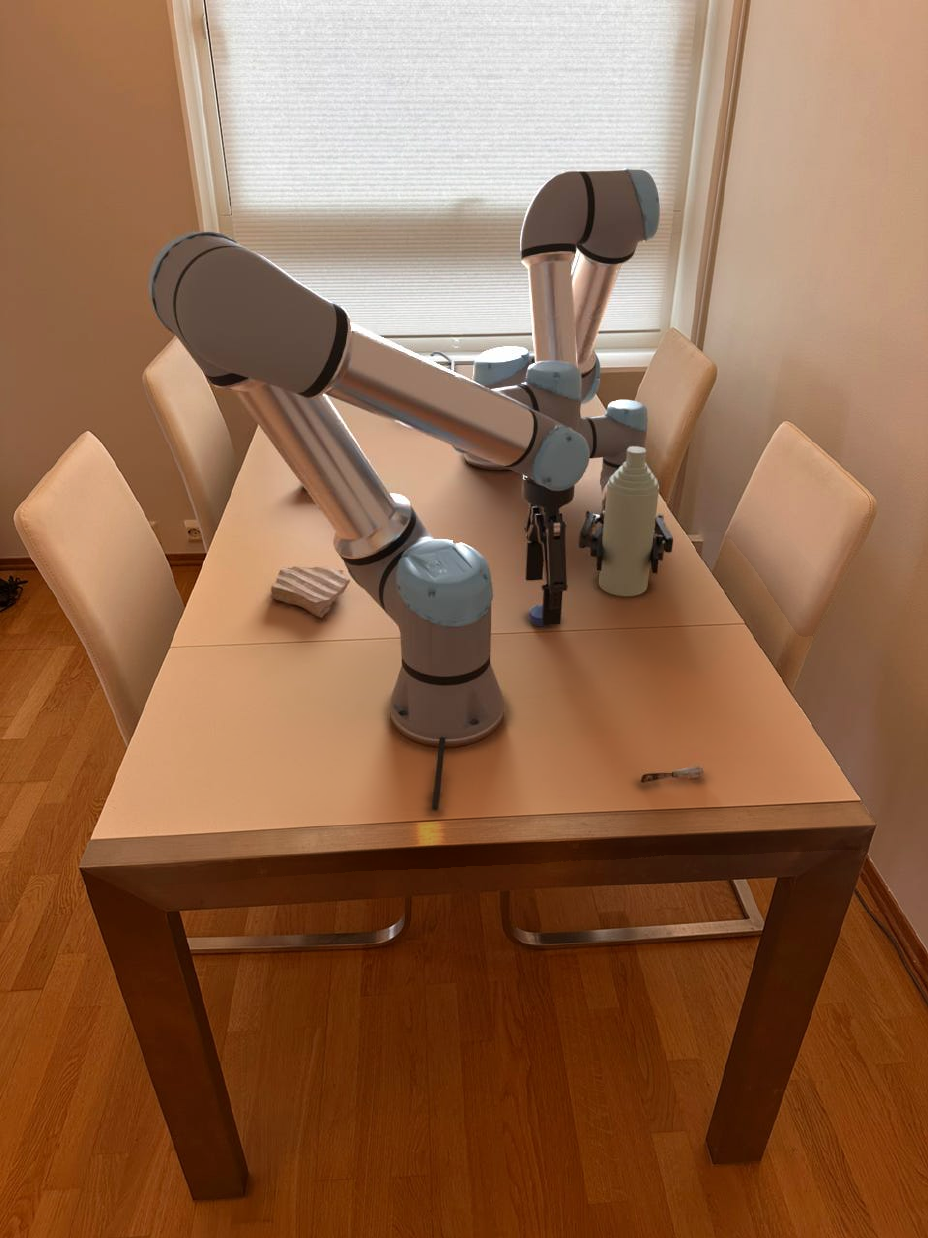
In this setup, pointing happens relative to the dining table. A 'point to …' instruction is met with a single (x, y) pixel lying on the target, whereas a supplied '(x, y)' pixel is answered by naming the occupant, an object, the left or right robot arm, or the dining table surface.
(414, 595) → the left robot arm
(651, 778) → the putty knife
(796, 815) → the dining table surface
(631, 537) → the bottle
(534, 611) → the cap
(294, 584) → the stone
